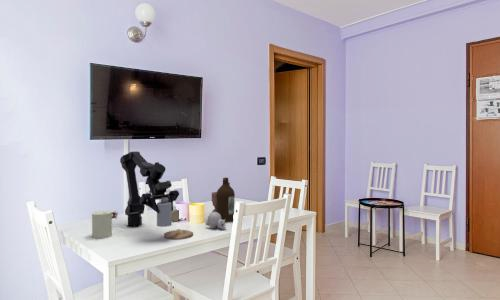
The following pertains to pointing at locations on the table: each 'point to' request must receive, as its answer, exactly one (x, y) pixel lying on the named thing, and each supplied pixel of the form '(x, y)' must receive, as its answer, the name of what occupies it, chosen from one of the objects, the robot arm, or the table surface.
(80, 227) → the table surface
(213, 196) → the mortar and pestle
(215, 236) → the table surface
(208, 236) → the table surface
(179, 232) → the cheese board
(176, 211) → the ceramic mug
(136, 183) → the robot arm
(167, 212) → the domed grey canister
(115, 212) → the grandmother figurine
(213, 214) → the chubby cartoon animal
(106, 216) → the can
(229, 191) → the olive oil
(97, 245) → the table surface
